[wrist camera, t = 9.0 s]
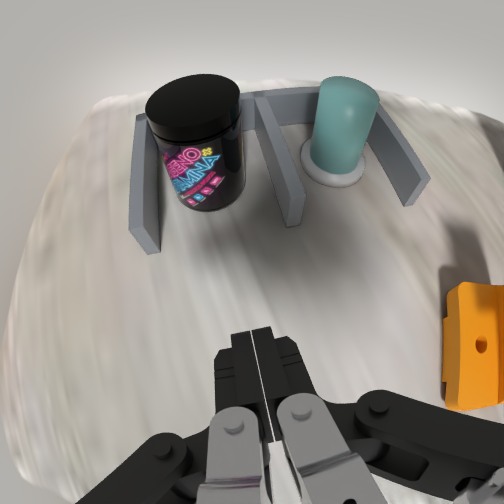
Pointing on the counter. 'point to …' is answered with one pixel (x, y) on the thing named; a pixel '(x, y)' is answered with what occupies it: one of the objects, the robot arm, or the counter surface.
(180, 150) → the supplement container
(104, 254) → the counter surface
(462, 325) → the bracket
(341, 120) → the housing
